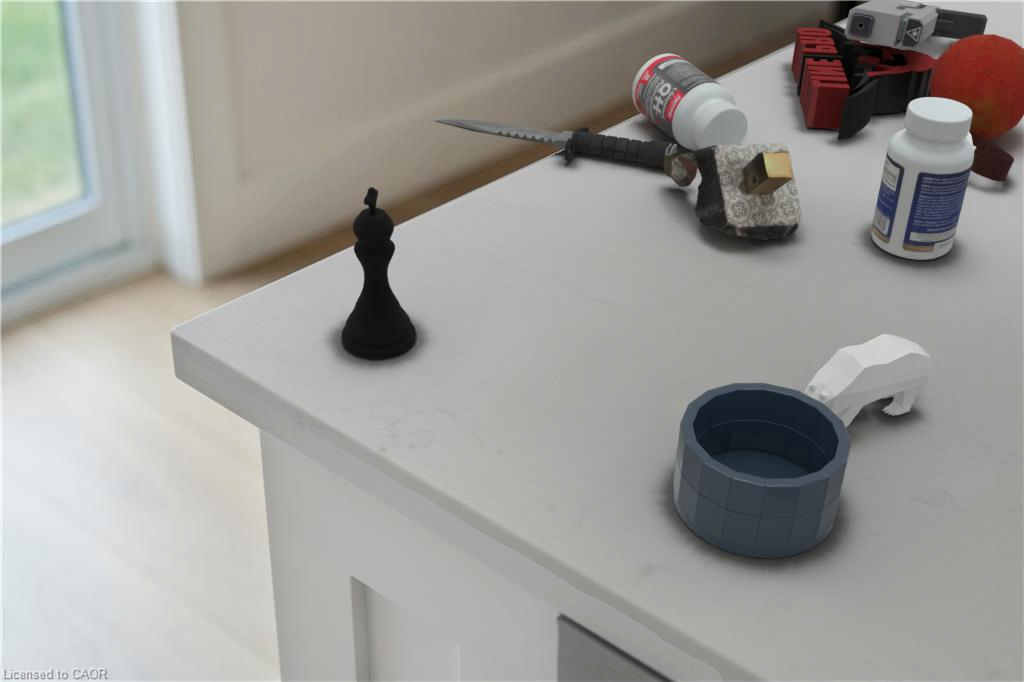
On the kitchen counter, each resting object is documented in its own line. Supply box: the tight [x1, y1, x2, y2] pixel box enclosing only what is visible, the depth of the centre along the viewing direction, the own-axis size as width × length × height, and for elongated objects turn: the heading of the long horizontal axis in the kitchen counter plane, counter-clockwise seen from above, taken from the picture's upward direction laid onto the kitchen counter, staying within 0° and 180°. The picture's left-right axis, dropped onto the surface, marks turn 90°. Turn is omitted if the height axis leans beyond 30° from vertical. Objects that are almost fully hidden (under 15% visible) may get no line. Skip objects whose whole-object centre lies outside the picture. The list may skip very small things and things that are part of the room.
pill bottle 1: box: [631, 53, 749, 151], centre depth 96 cm, size 5×5×10 cm
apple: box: [930, 33, 1024, 140], centre depth 98 cm, size 8×8×8 cm
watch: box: [965, 131, 1015, 182], centre depth 94 cm, size 8×5×4 cm
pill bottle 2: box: [870, 97, 974, 261], centre depth 82 cm, size 5×5×10 cm
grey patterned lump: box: [663, 142, 802, 241], centre depth 86 cm, size 8×7×12 cm
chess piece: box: [340, 186, 417, 360], centre depth 71 cm, size 4×4×10 cm
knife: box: [434, 118, 678, 169], centre depth 95 cm, size 19×2×5 cm
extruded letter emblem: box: [790, 19, 938, 141], centre depth 104 cm, size 18×4×11 cm
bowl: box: [672, 382, 852, 559], centre depth 61 cm, size 8×8×4 cm
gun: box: [844, 0, 989, 50], centre depth 109 cm, size 2×25×10 cm
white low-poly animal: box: [804, 333, 932, 428], centre depth 67 cm, size 2×8×5 cm, turn 119°
